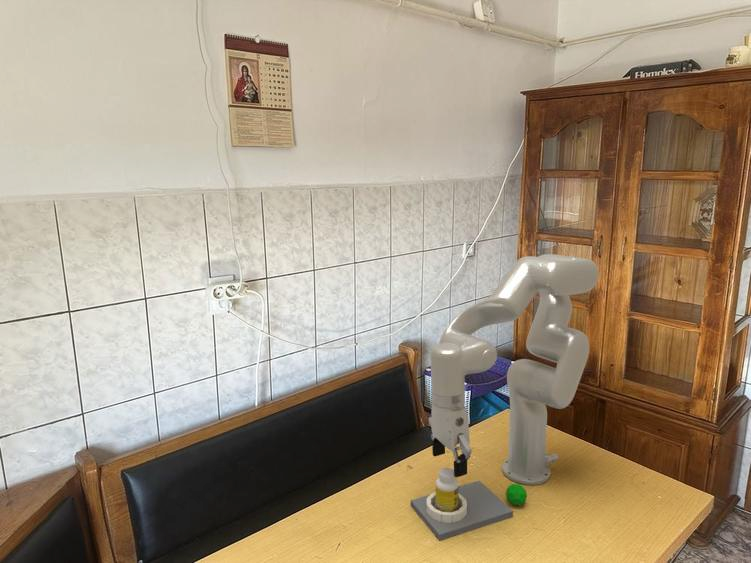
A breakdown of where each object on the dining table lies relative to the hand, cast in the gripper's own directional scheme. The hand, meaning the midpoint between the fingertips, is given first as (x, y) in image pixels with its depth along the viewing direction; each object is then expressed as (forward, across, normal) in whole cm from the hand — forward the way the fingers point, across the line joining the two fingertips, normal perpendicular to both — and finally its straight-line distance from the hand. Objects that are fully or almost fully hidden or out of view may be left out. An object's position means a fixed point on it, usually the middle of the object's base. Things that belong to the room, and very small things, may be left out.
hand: (449, 464), depth 125 cm
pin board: (+13, 0, -3) cm, 13 cm away
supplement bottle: (+12, 0, +1) cm, 12 cm away
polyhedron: (+14, -3, -17) cm, 22 cm away
